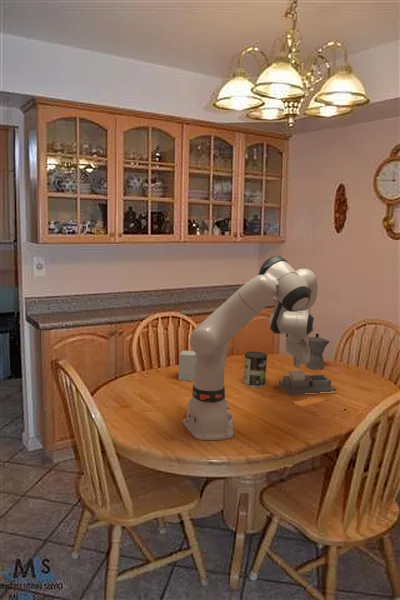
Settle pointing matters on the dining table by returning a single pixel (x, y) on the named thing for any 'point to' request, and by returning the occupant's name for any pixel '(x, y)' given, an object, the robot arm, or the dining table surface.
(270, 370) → the dining table surface
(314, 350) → the coffeepot
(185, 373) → the supplement box
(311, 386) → the socket board
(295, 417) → the dining table surface
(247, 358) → the coffee can
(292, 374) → the plug
